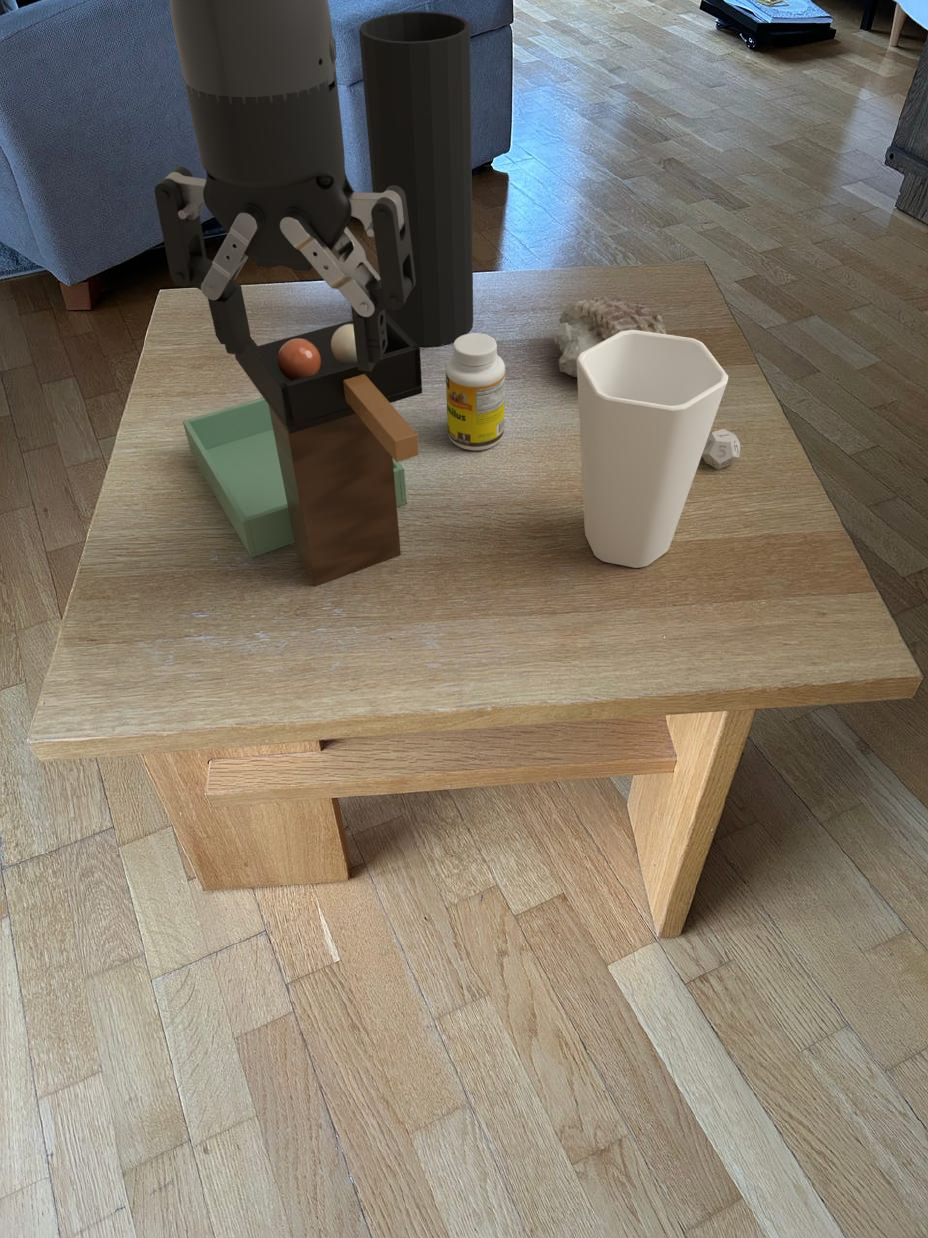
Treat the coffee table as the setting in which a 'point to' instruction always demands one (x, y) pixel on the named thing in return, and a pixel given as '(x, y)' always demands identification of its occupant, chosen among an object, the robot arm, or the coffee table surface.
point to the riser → (338, 496)
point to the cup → (642, 438)
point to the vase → (425, 158)
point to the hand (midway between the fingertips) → (304, 356)
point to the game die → (721, 449)
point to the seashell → (599, 326)
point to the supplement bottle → (475, 393)
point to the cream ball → (344, 345)
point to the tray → (250, 473)
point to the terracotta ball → (299, 359)
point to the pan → (342, 387)
